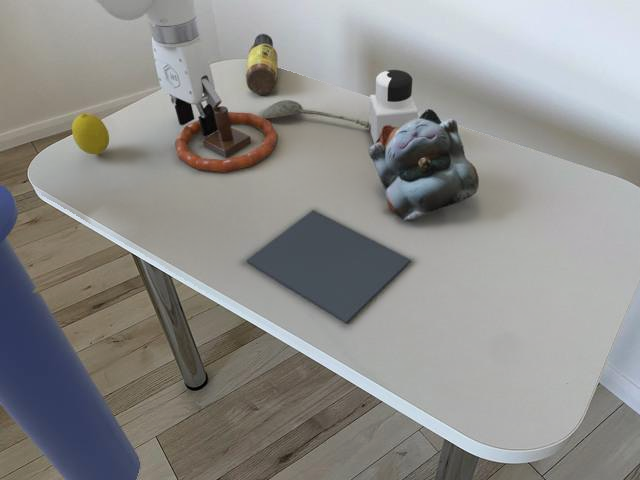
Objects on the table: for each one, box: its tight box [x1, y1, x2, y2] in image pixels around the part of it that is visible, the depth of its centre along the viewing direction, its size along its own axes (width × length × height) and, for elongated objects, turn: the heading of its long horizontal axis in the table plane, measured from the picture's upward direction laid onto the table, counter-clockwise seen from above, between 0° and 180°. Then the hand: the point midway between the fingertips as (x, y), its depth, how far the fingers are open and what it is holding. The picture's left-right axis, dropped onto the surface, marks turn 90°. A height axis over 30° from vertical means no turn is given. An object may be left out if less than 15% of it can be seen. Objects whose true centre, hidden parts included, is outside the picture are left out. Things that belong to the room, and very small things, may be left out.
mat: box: [246, 209, 411, 324], centre depth 77 cm, size 14×18×1 cm
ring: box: [174, 111, 279, 173], centre depth 99 cm, size 18×18×2 cm
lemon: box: [71, 112, 110, 156], centre depth 95 cm, size 6×6×8 cm
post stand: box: [201, 105, 252, 159], centre depth 97 cm, size 6×6×7 cm
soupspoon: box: [262, 99, 371, 132], centre depth 103 cm, size 22×3×7 cm
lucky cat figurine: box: [368, 108, 480, 221], centre depth 83 cm, size 15×12×14 cm
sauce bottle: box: [245, 33, 279, 96], centre depth 117 cm, size 6×6×20 cm
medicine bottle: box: [369, 69, 419, 144], centre depth 96 cm, size 7×7×12 cm
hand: (198, 126), depth 102 cm, fingers open, 5 cm apart
